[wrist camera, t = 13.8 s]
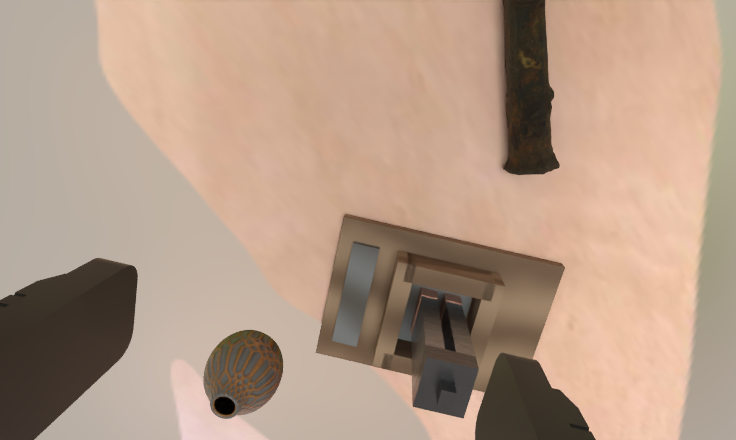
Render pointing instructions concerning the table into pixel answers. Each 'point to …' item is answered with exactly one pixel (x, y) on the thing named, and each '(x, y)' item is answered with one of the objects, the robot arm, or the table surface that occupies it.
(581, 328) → the table surface
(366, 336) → the stand
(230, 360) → the vase
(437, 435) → the table surface
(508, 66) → the dark wooden branch
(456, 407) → the grey square peg
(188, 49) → the table surface
